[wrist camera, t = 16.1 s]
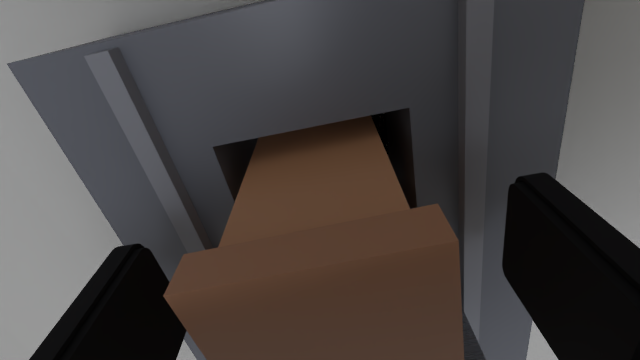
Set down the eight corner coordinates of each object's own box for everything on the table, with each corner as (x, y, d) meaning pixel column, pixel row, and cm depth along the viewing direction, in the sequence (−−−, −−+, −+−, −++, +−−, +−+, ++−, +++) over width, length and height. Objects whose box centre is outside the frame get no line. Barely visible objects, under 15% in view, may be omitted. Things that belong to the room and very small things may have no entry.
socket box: (491, -53, 12) (614, -79, 7) (477, 302, 20) (526, 399, 16) (111, 37, 13) (-10, 68, 8) (252, 334, 22) (235, 433, 17)
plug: (385, 178, 16) (466, 405, 7) (287, 199, 17) (257, 434, 8) (368, 79, 14) (458, 240, 5) (255, 106, 14) (163, 296, 6)
